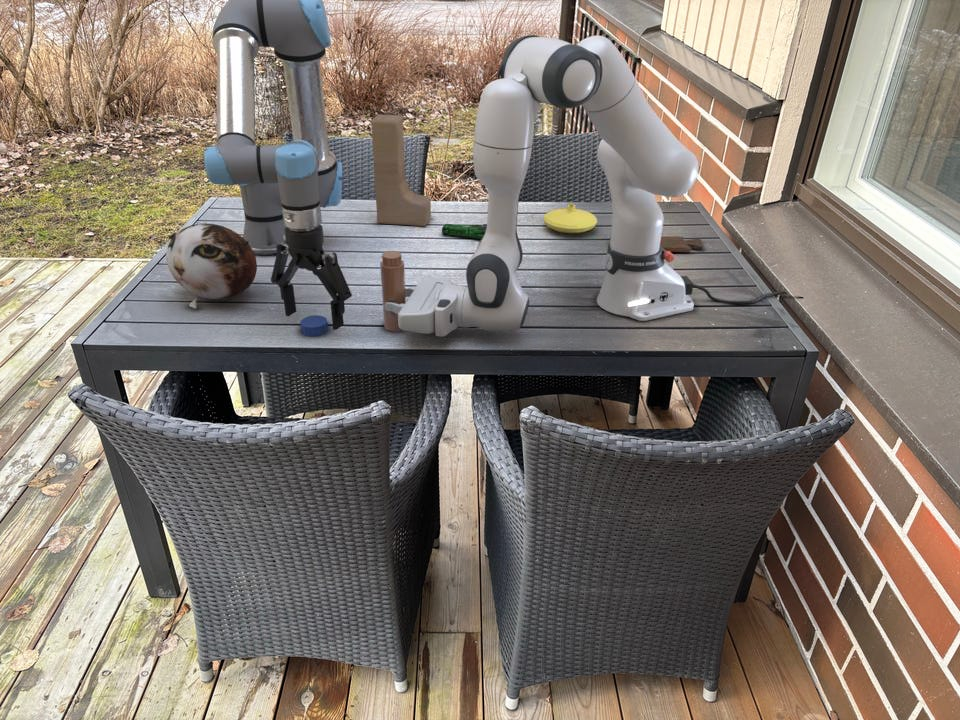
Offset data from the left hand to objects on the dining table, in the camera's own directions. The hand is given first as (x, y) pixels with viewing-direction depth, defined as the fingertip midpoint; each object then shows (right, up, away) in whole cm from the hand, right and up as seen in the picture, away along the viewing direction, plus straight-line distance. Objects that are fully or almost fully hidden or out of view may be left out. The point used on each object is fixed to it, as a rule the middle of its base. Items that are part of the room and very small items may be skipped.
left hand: (314, 320), depth 155 cm
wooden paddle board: (+85, +23, +45) cm, 99 cm away
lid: (0, -1, 0) cm, 1 cm away
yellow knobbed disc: (+62, +30, +56) cm, 89 cm away
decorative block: (+13, +33, +60) cm, 70 cm away
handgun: (+35, +28, +53) cm, 70 cm away
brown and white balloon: (-26, +6, +14) cm, 30 cm away
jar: (+17, -1, +3) cm, 18 cm away
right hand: (+16, +5, 0) cm, 17 cm away
